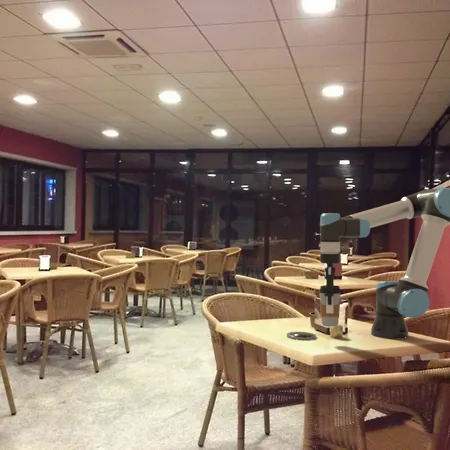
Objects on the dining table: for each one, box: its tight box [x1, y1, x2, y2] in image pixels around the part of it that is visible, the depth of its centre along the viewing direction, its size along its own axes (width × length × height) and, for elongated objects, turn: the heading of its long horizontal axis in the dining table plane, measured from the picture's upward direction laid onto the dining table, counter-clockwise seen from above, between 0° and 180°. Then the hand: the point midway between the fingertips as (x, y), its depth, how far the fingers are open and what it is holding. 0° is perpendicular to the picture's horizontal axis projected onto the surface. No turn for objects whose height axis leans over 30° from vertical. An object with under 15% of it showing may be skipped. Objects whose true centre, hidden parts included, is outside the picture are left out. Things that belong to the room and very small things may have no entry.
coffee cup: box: [318, 285, 342, 327], centre depth 205 cm, size 8×8×15 cm
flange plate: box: [286, 331, 317, 341], centre depth 218 cm, size 12×12×1 cm
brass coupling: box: [329, 324, 344, 340], centre depth 218 cm, size 5×5×5 cm
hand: (330, 311), depth 205 cm, fingers closed on coffee cup, 8 cm apart
